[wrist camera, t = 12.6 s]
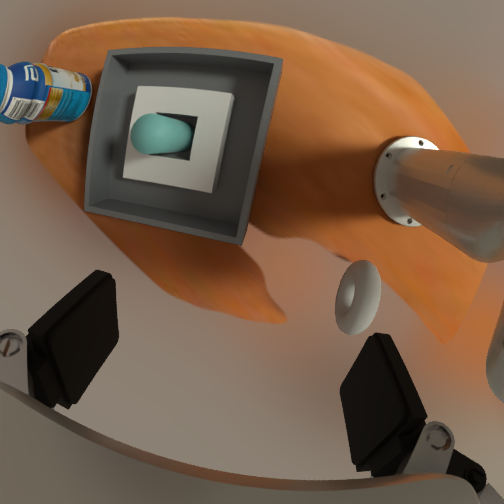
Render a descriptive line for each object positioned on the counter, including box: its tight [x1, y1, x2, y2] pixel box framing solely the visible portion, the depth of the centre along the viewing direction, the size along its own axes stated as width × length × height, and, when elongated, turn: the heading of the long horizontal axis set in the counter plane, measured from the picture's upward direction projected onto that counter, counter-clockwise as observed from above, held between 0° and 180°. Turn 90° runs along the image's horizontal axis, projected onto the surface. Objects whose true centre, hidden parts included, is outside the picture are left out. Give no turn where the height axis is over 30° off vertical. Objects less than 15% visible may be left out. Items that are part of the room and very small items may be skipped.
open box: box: [84, 47, 283, 246], centre depth 31 cm, size 22×22×6 cm
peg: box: [130, 113, 195, 154], centre depth 28 cm, size 4×4×10 cm
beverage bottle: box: [0, 62, 92, 124], centre depth 22 cm, size 8×8×20 cm
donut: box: [335, 260, 381, 335], centre depth 34 cm, size 10×4×10 cm, turn 168°
